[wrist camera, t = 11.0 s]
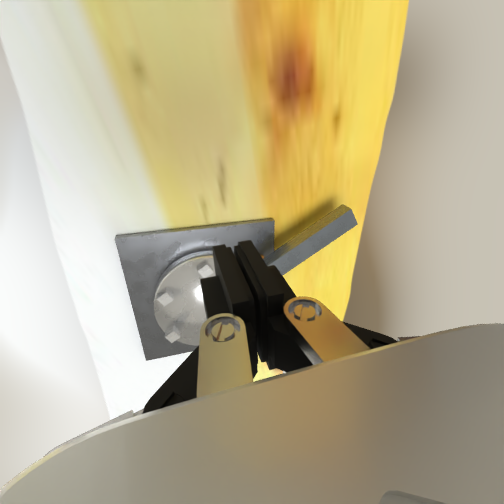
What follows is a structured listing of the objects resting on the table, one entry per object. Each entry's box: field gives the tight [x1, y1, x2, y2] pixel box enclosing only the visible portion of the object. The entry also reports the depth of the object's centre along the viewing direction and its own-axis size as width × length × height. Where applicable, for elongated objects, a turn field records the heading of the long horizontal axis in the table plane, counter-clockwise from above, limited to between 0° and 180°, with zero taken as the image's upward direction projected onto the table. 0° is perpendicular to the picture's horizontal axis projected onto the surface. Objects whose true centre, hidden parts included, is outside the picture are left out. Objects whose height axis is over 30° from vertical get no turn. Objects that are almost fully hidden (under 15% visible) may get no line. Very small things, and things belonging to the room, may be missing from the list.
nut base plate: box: [115, 218, 274, 361], centre depth 41 cm, size 20×20×1 cm
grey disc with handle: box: [154, 204, 357, 346], centre depth 38 cm, size 29×14×4 cm, turn 122°
